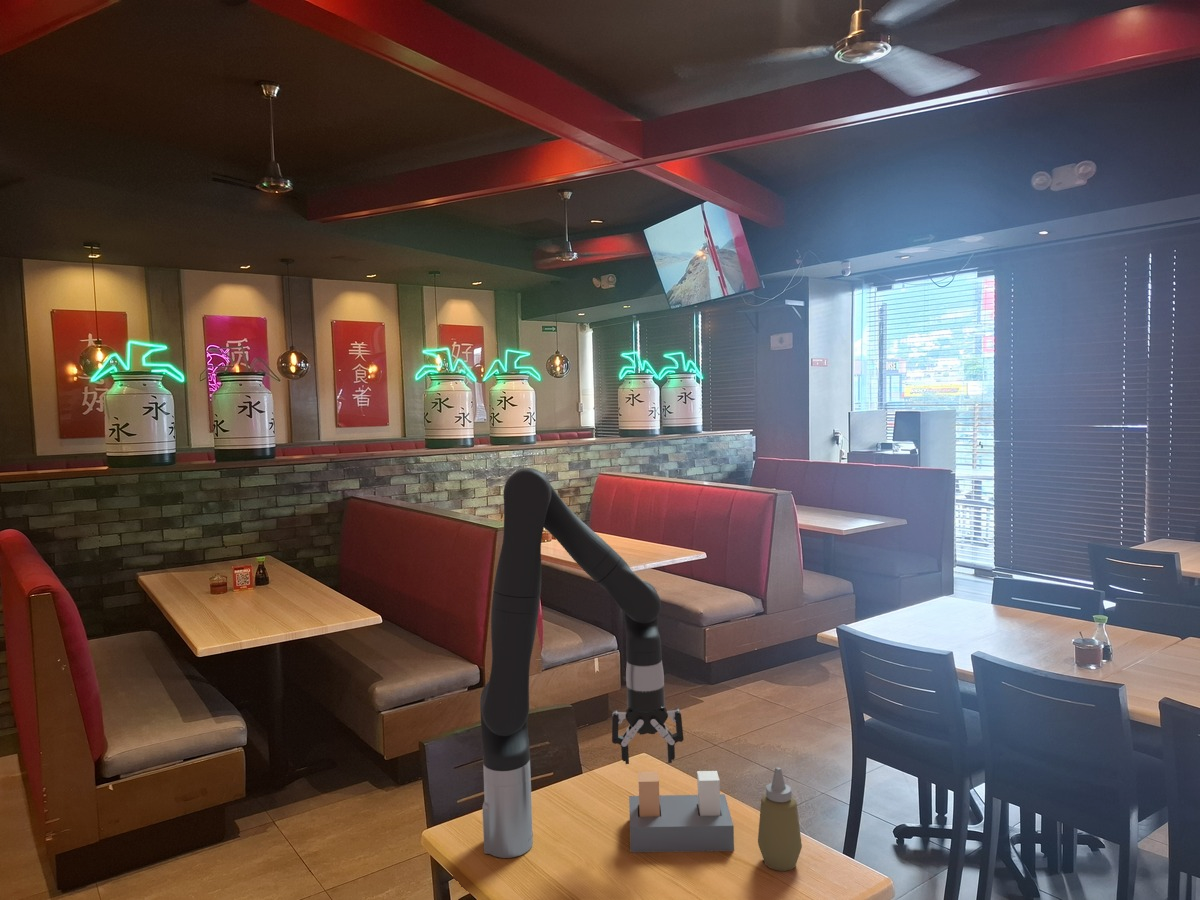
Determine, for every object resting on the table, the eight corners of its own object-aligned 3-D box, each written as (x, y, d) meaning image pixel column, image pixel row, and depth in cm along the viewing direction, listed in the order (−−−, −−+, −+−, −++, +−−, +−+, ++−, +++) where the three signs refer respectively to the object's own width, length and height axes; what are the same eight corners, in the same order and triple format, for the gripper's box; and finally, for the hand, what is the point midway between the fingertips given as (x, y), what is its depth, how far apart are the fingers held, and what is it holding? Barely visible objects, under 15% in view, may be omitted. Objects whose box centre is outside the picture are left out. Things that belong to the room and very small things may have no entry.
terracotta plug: (640, 838, 151) (638, 781, 150) (639, 827, 155) (638, 772, 154) (660, 837, 151) (658, 781, 150) (659, 826, 155) (657, 771, 154)
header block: (630, 852, 147) (629, 827, 147) (629, 819, 159) (629, 796, 159) (734, 850, 146) (733, 825, 146) (725, 817, 158) (724, 794, 158)
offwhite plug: (700, 837, 151) (699, 780, 150) (698, 826, 155) (697, 771, 154) (720, 836, 151) (719, 780, 150) (718, 825, 155) (717, 770, 154)
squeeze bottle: (777, 880, 137) (775, 783, 136) (749, 858, 144) (747, 765, 143) (811, 867, 141) (809, 772, 140) (782, 845, 148) (780, 755, 147)
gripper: (609, 690, 148) (613, 772, 149) (682, 688, 148) (685, 769, 148) (609, 677, 155) (613, 754, 156) (679, 674, 155) (682, 752, 156)
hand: (648, 761), depth 152 cm, fingers open, 8 cm apart
